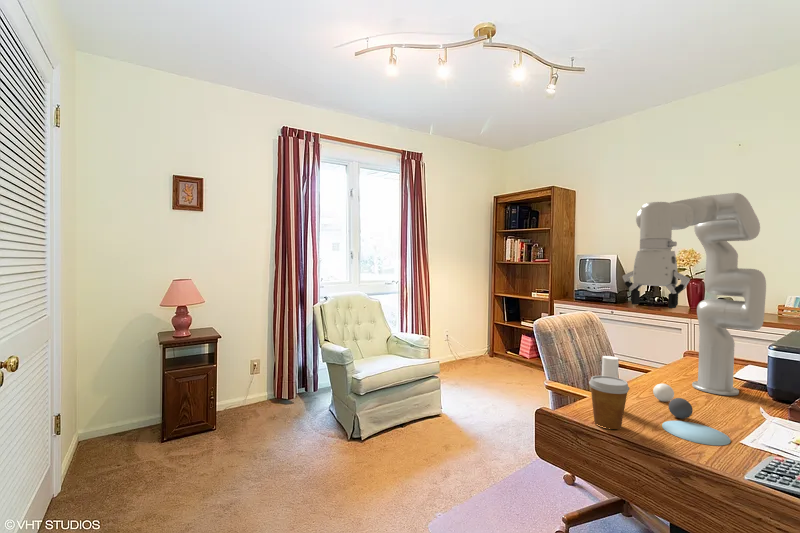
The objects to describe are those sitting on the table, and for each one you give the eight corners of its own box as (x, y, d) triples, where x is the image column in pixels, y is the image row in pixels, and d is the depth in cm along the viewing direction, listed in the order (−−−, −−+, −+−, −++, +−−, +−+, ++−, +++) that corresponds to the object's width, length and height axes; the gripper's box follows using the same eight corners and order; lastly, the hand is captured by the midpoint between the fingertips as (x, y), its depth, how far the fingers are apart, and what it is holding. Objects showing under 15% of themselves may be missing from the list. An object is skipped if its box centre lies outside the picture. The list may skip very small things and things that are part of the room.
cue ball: (658, 397, 127) (658, 380, 127) (677, 402, 122) (677, 385, 122) (649, 399, 124) (650, 382, 124) (668, 405, 119) (669, 387, 119)
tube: (619, 410, 114) (620, 359, 114) (603, 409, 115) (604, 358, 115) (614, 405, 118) (615, 356, 118) (598, 404, 119) (600, 355, 119)
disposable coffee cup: (621, 420, 107) (622, 376, 107) (633, 435, 98) (635, 387, 98) (583, 416, 109) (585, 373, 109) (592, 430, 100) (594, 384, 100)
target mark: (676, 417, 110) (676, 416, 110) (739, 437, 98) (739, 436, 98) (651, 428, 102) (651, 427, 102) (716, 450, 91) (716, 449, 91)
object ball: (673, 412, 114) (674, 393, 113) (695, 419, 109) (696, 399, 109) (664, 416, 111) (665, 397, 111) (686, 423, 106) (687, 403, 106)
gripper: (696, 246, 106) (694, 309, 106) (630, 247, 120) (629, 302, 121) (683, 244, 102) (681, 310, 102) (617, 246, 116) (615, 303, 117)
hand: (653, 306), depth 111 cm, fingers open, 9 cm apart
